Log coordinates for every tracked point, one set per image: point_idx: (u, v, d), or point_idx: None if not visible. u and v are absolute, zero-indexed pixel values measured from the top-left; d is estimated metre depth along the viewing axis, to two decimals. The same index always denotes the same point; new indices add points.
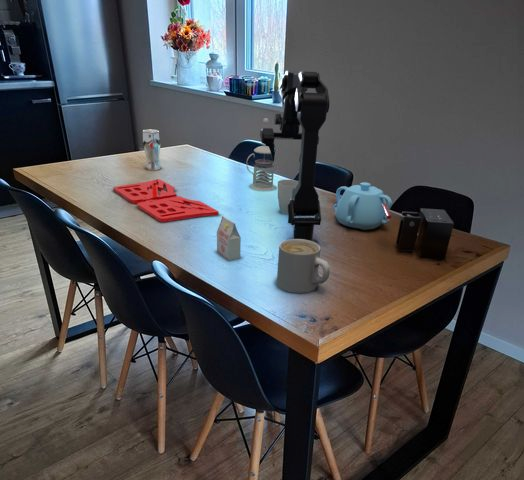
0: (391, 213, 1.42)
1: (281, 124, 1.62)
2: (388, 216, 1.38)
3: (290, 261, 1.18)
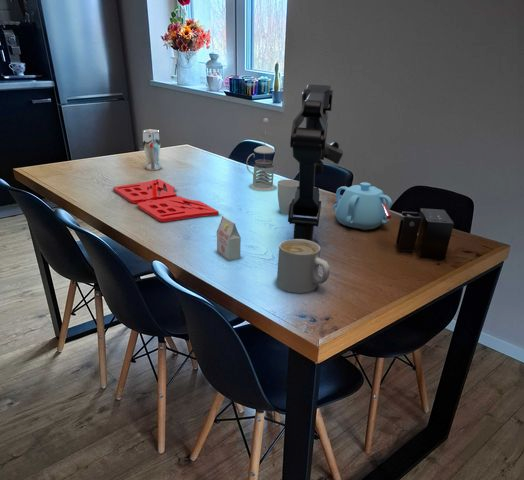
0: (391, 213, 1.42)
1: None
2: (388, 216, 1.38)
3: (290, 261, 1.18)
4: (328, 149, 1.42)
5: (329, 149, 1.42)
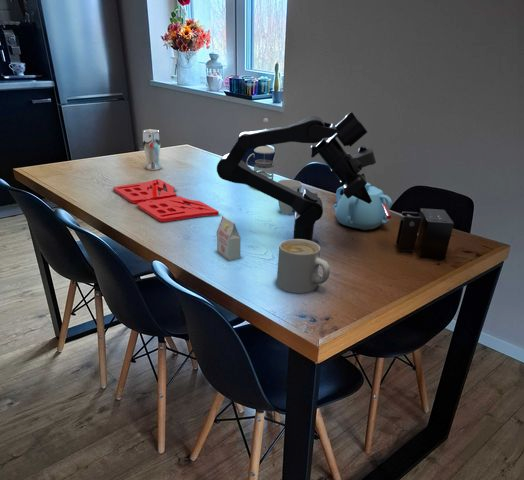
0: (391, 213, 1.42)
1: None
2: (388, 216, 1.38)
3: (290, 261, 1.18)
4: (357, 159, 1.33)
5: (358, 158, 1.33)
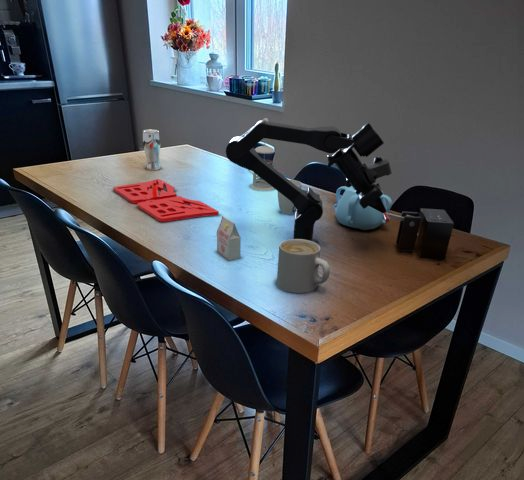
0: (390, 216, 1.42)
1: None
2: (386, 220, 1.38)
3: (290, 261, 1.18)
4: (373, 170, 1.34)
5: (374, 169, 1.34)
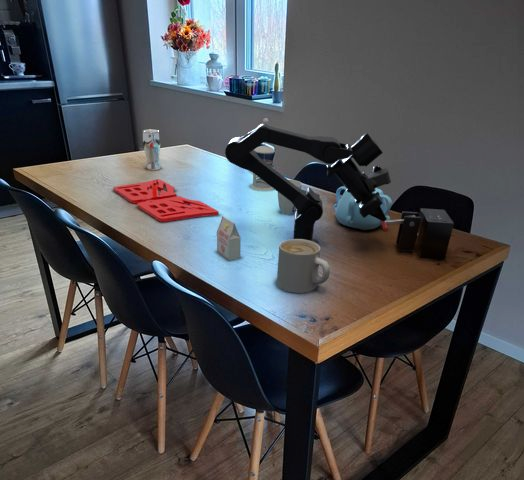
0: (388, 223, 1.44)
1: None
2: (384, 229, 1.40)
3: (290, 261, 1.18)
4: (372, 179, 1.36)
5: (373, 178, 1.35)
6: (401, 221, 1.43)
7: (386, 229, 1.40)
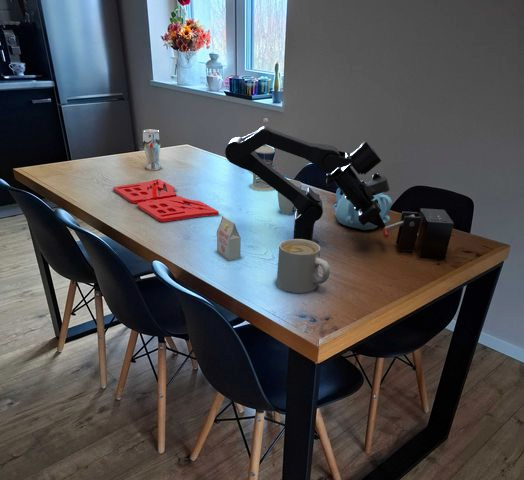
0: (389, 228, 1.44)
1: None
2: (385, 236, 1.41)
3: (290, 261, 1.18)
4: (371, 187, 1.37)
5: (372, 186, 1.37)
6: (401, 223, 1.43)
7: (387, 235, 1.41)
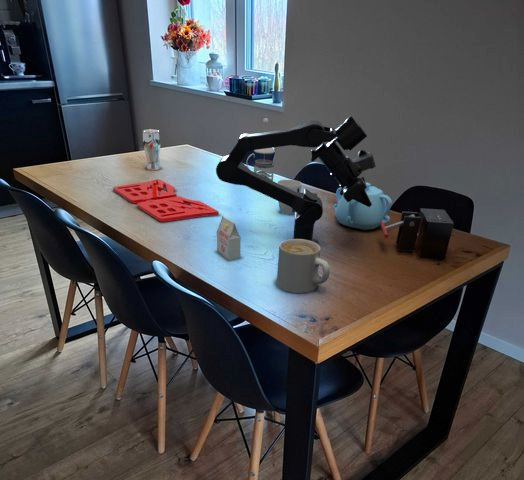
0: (389, 228, 1.44)
1: None
2: (385, 236, 1.41)
3: (290, 261, 1.18)
4: (357, 163, 1.34)
5: (358, 162, 1.34)
6: (401, 223, 1.43)
7: (387, 235, 1.41)
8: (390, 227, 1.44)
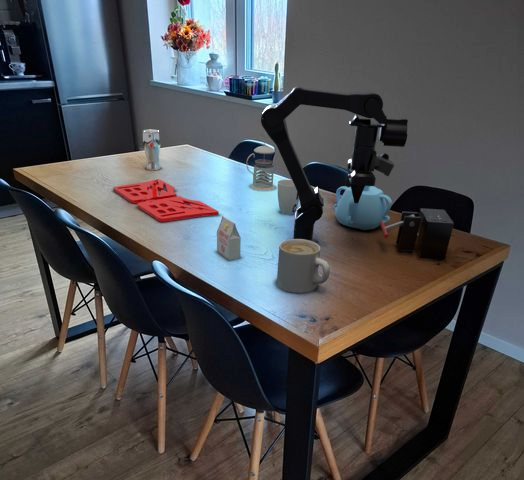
0: (389, 228, 1.44)
1: None
2: (385, 236, 1.41)
3: (290, 261, 1.18)
4: (379, 160, 1.33)
5: (380, 160, 1.33)
6: (401, 223, 1.43)
7: (387, 235, 1.41)
8: (390, 227, 1.44)
